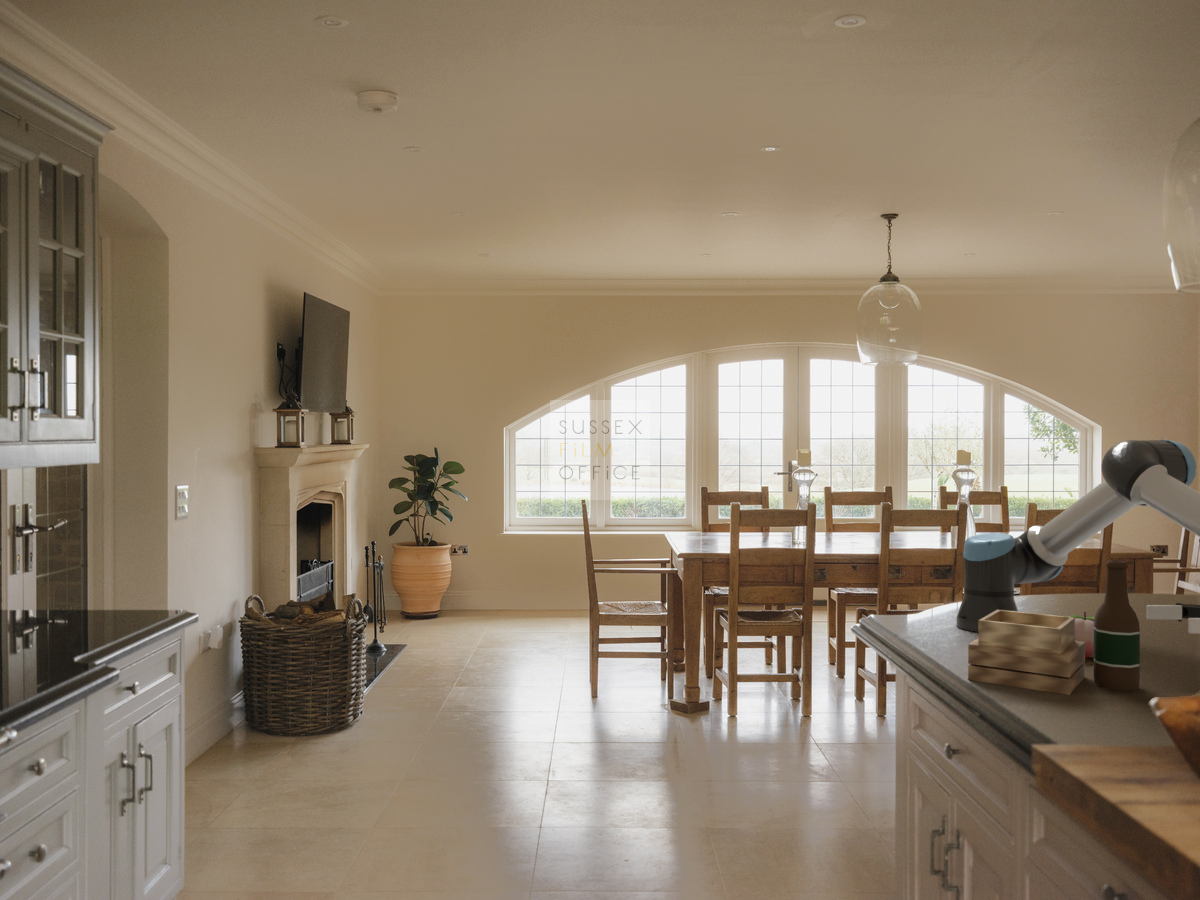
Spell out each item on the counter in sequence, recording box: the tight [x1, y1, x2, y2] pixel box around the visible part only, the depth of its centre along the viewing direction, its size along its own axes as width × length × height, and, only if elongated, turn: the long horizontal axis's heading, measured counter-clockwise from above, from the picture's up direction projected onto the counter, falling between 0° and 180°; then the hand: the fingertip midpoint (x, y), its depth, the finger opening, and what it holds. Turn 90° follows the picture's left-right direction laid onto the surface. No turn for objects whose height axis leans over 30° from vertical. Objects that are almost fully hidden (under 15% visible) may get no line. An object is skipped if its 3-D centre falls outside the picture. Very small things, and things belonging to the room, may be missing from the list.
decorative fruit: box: [1067, 611, 1095, 659], centre depth 198 cm, size 9×8×10 cm
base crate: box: [967, 637, 1086, 696], centre depth 180 cm, size 18×16×7 cm
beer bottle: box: [1093, 559, 1141, 692], centre depth 175 cm, size 8×8×24 cm
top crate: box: [977, 610, 1075, 655], centre depth 180 cm, size 15×15×5 cm
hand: (1167, 618), depth 174 cm, fingers open, 13 cm apart
